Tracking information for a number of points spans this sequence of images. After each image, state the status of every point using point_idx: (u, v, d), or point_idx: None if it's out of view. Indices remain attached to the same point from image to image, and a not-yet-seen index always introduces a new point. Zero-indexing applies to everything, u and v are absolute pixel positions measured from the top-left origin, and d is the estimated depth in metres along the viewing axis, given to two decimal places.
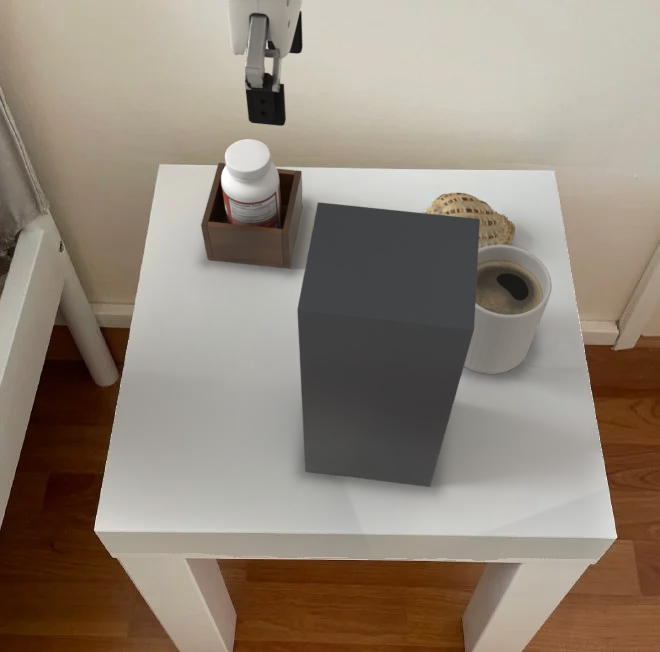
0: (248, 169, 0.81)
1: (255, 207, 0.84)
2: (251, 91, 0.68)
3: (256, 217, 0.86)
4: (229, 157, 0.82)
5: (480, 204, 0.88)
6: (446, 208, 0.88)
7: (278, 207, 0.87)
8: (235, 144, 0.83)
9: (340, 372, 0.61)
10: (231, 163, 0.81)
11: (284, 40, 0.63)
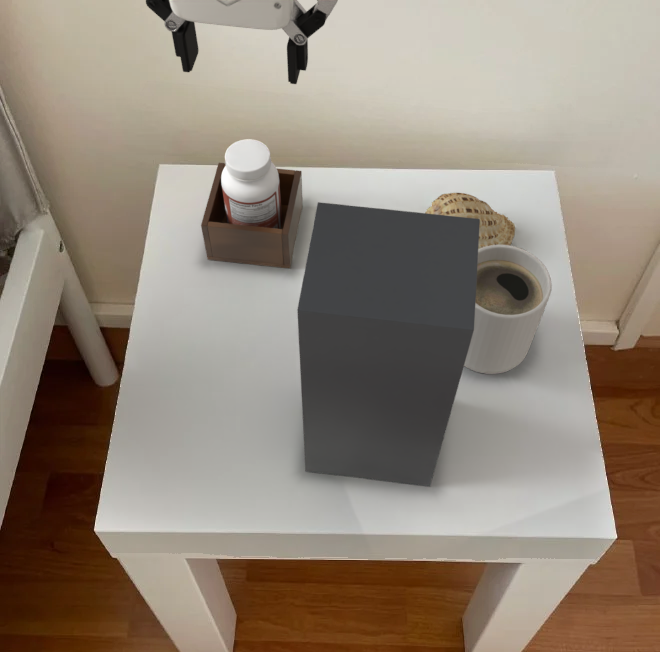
0: (248, 169, 0.81)
1: (255, 207, 0.84)
2: (295, 49, 0.69)
3: (256, 216, 0.86)
4: (229, 157, 0.82)
5: (480, 204, 0.88)
6: (446, 208, 0.88)
7: (278, 207, 0.87)
8: (235, 144, 0.83)
9: (340, 372, 0.61)
10: (231, 163, 0.81)
11: None
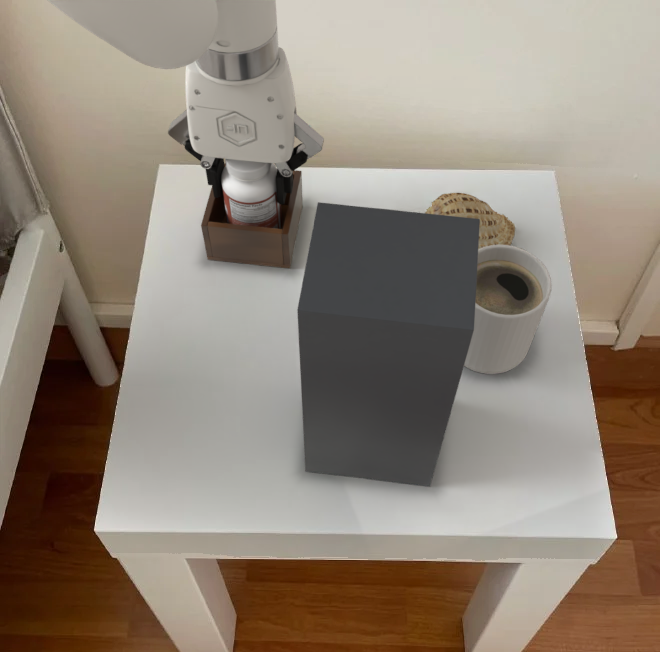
0: (248, 169, 0.81)
1: (255, 207, 0.84)
2: (283, 179, 0.83)
3: (256, 216, 0.86)
4: None
5: (480, 204, 0.88)
6: (446, 208, 0.88)
7: (278, 207, 0.87)
8: None
9: (340, 372, 0.61)
10: (231, 163, 0.81)
11: None
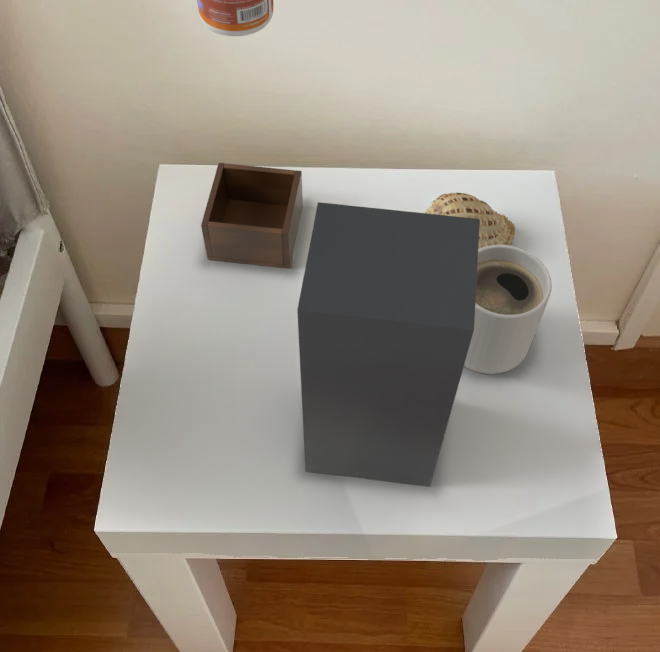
0: None
1: None
2: None
3: None
4: None
5: (480, 204, 0.88)
6: (446, 208, 0.88)
7: None
8: None
9: (340, 372, 0.61)
10: None
11: None
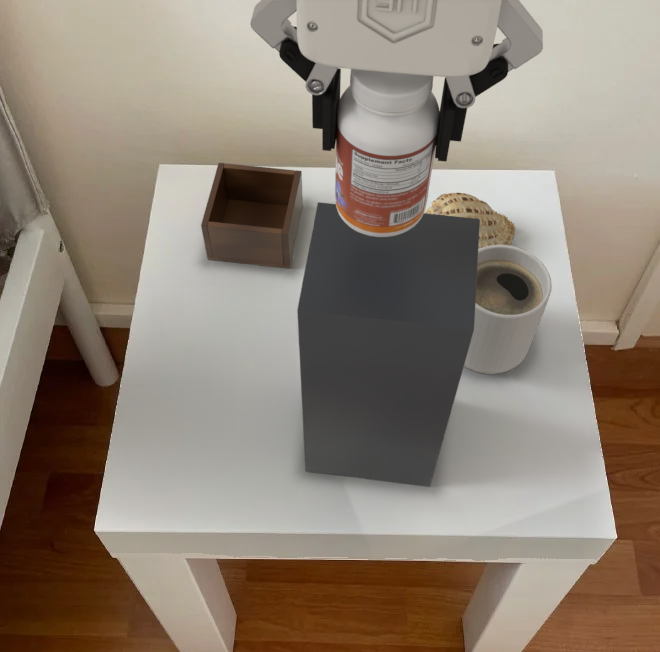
0: (397, 92, 0.44)
1: (400, 164, 0.47)
2: None
3: (397, 182, 0.49)
4: (360, 71, 0.45)
5: (480, 204, 0.88)
6: (446, 208, 0.88)
7: (431, 167, 0.50)
8: None
9: (340, 372, 0.61)
10: (364, 81, 0.44)
11: None
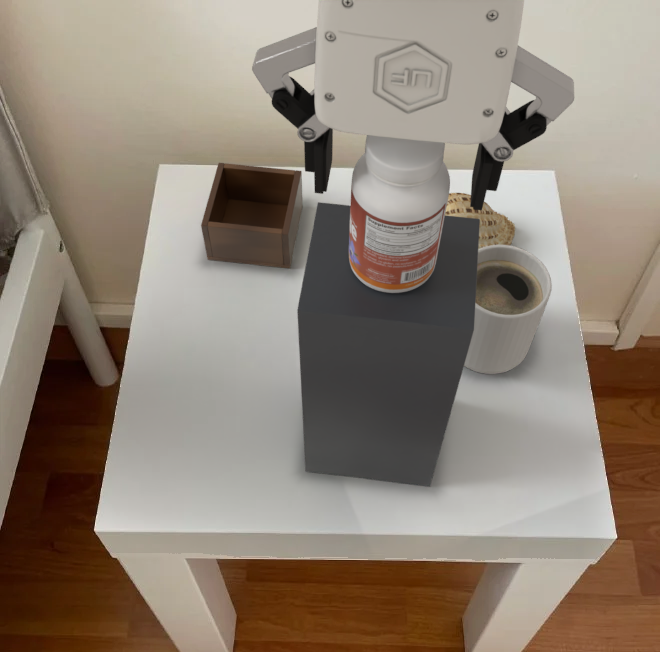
0: (409, 165, 0.46)
1: (411, 230, 0.50)
2: None
3: (408, 246, 0.51)
4: (374, 144, 0.47)
5: None
6: (446, 208, 0.88)
7: (441, 229, 0.52)
8: None
9: (340, 372, 0.61)
10: (379, 155, 0.47)
11: None
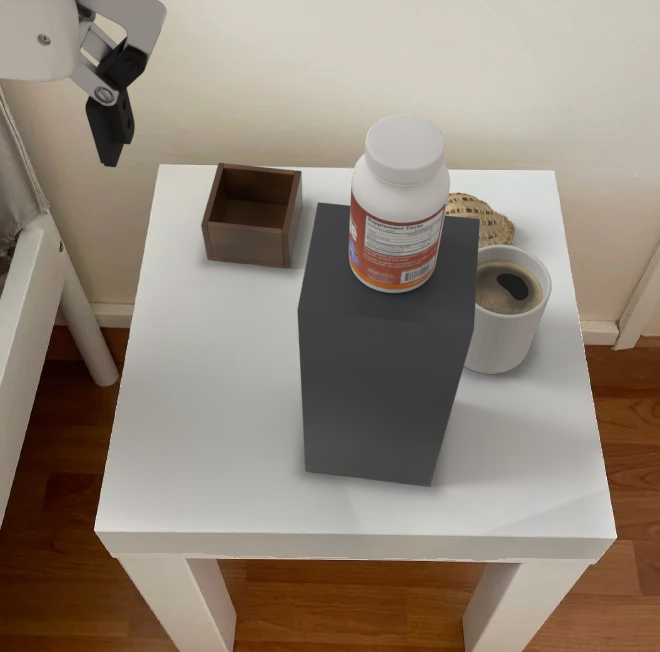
0: (409, 165, 0.46)
1: (411, 230, 0.50)
2: (103, 112, 0.39)
3: (408, 245, 0.51)
4: (374, 144, 0.47)
5: (480, 204, 0.88)
6: (446, 208, 0.88)
7: (441, 229, 0.52)
8: (382, 122, 0.48)
9: (340, 372, 0.61)
10: (379, 155, 0.47)
11: None
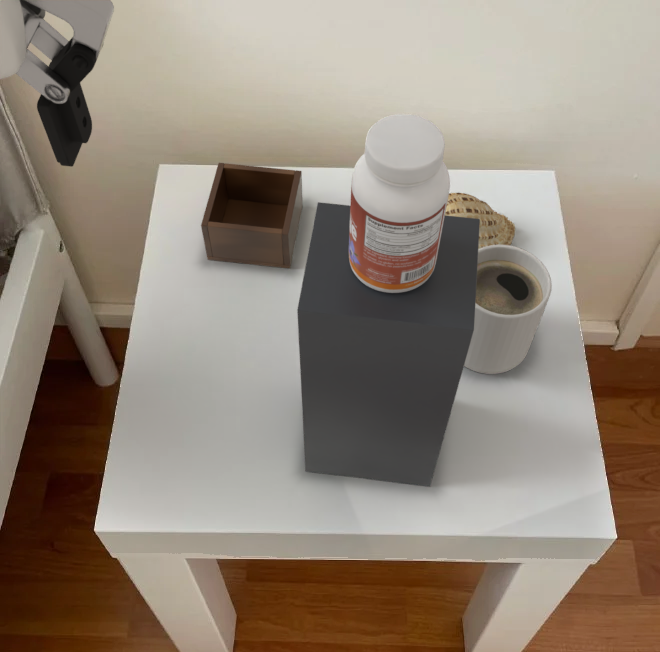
0: (409, 165, 0.46)
1: (411, 230, 0.50)
2: (55, 110, 0.39)
3: (408, 245, 0.51)
4: (374, 144, 0.47)
5: (480, 204, 0.88)
6: (446, 208, 0.88)
7: (441, 229, 0.52)
8: (382, 122, 0.48)
9: (340, 372, 0.61)
10: (379, 155, 0.47)
11: None
